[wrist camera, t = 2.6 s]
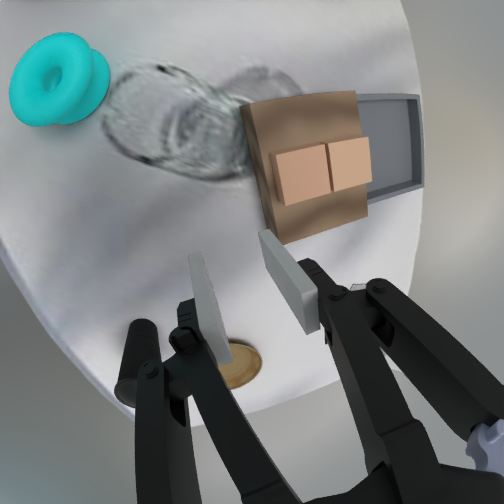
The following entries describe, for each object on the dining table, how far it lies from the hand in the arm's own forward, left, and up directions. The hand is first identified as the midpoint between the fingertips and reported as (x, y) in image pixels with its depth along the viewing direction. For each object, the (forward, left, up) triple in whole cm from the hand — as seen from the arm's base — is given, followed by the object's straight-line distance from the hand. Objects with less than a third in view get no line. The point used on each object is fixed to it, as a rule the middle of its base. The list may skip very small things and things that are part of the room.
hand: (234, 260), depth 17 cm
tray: (0, +29, -20) cm, 35 cm away
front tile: (0, +11, -15) cm, 18 cm away
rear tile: (0, +18, -15) cm, 23 cm away
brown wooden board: (0, +14, -20) cm, 24 cm away
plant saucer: (+33, -7, -20) cm, 39 cm away
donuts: (-19, -12, -20) cm, 30 cm away
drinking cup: (+19, -17, -20) cm, 32 cm away
